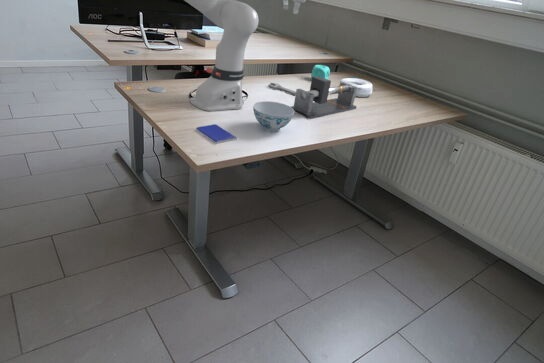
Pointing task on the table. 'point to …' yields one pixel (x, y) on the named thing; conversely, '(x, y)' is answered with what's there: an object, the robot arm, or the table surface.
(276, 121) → the chinaware
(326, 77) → the decorative dice
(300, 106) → the pipe stand
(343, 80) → the cable
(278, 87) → the adjustable wrench
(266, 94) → the table surface
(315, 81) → the dark grey upright block
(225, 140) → the hard drive
